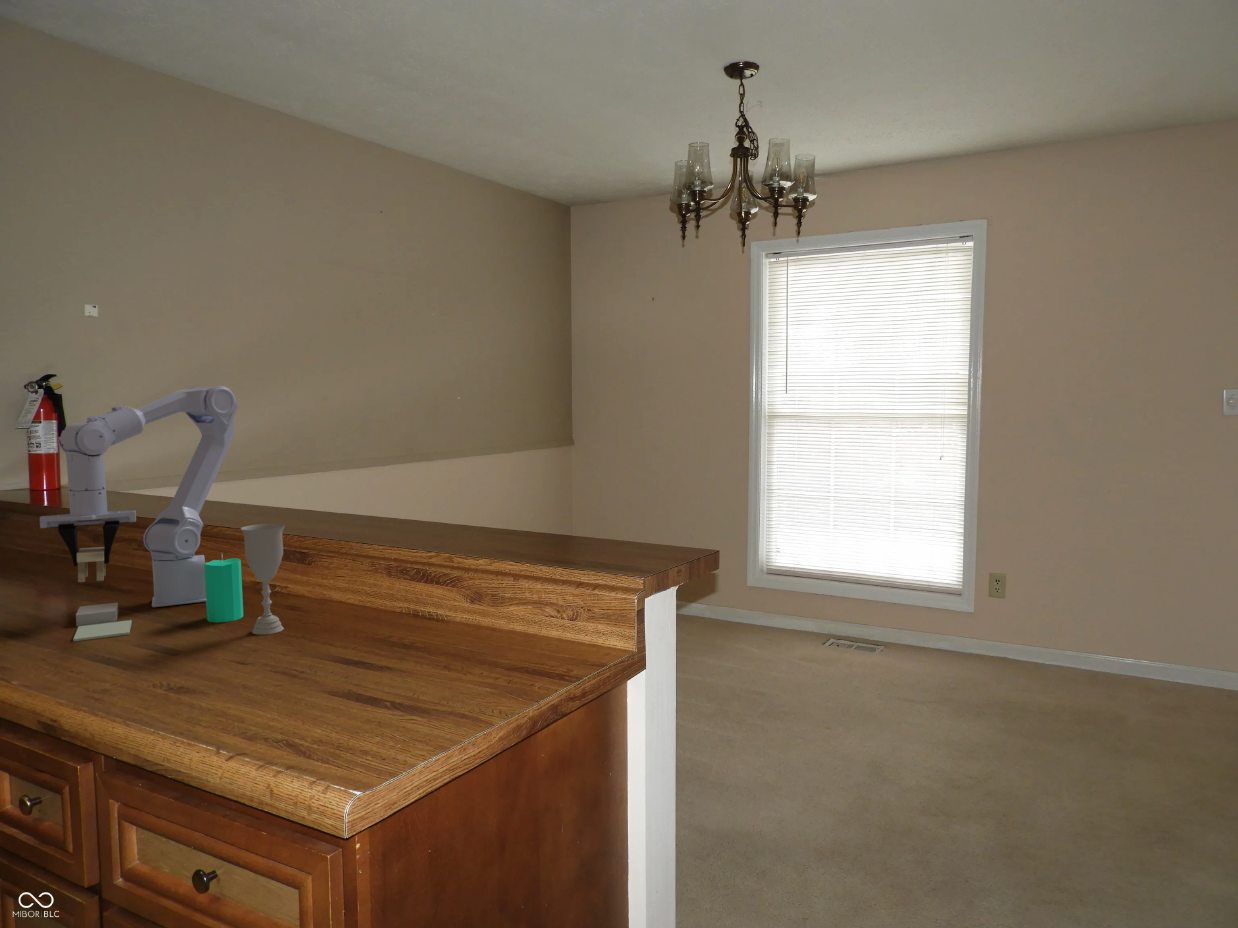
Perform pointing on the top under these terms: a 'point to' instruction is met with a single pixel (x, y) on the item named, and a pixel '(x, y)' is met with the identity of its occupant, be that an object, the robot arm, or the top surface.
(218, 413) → the robot arm
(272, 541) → the chalice
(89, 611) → the step
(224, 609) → the candle
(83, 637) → the mat
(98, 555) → the beige toy stool
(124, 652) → the top surface
